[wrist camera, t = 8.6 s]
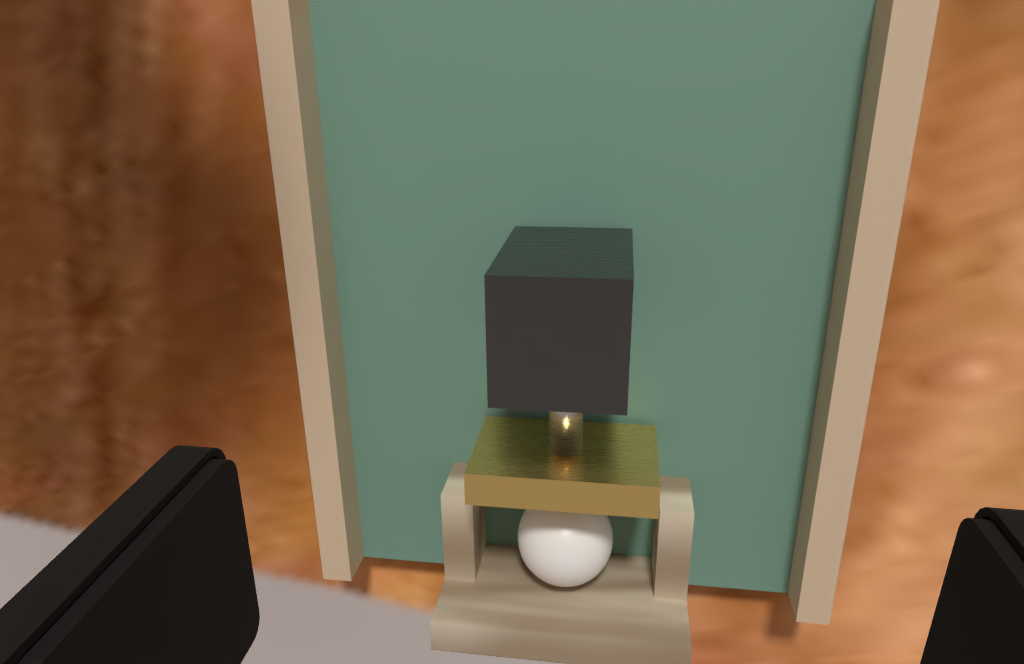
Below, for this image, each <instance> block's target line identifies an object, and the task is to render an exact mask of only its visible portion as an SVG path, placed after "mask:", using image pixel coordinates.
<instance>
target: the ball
mask: <svg viewBox="0 0 1024 664" xmlns="http://www.w3.org/2000/svg"><path fill="white" fill-rule="evenodd" d="M518 546H519V550H520V554H521V556H522V559H523V561H524V562H525V564H526V566H527V567H528V568H529V570H530V571H531V572H532V573H533V574H534V575H535V576H537V577H538V578H539V579H541V580H543V581H544V582H546V583H549V584H551V585H555V586H560V587H573V586H578V585H581V584H584V583H586V582H588V581H590V580H592V579H593V578H594V577H596V576H597V575H598V574H599V573H600V572H601V571H602V569H603V568H604V567H605V565H606V563H607V562H608V560H609V557H610V554H611V550H612V546H613V532H612V526H611V523H610V520H609V518H608V515H597V514H583V513H570V512H556V511H543V510H529V509H526V510H525V511H524V513H523V515H522V517H521V520H520V523H519V528H518Z"/></svg>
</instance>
